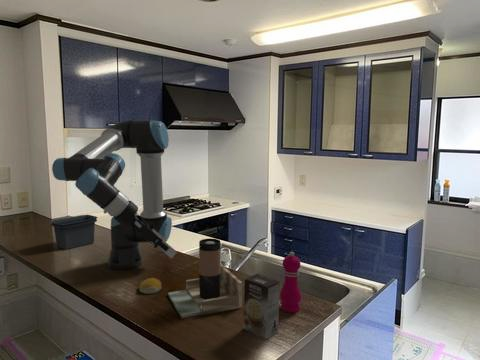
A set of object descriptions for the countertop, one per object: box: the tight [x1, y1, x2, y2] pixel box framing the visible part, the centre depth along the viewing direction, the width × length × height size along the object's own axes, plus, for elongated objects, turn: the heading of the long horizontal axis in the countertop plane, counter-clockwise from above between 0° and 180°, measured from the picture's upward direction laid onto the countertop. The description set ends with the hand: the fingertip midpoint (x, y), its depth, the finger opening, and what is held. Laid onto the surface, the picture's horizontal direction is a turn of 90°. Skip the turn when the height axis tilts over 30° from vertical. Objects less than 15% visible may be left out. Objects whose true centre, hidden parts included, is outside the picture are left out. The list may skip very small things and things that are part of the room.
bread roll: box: [138, 277, 162, 295], centre depth 141 cm, size 8×9×4 cm
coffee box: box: [243, 273, 281, 340], centre depth 111 cm, size 9×6×16 cm
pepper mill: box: [279, 251, 302, 314], centre depth 126 cm, size 7×7×20 cm
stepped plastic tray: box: [167, 263, 243, 319], centre depth 131 cm, size 20×21×9 cm
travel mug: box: [198, 238, 222, 300], centre depth 132 cm, size 8×8×20 cm
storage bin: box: [50, 214, 98, 250], centre depth 197 cm, size 21×16×14 cm
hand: (168, 248), depth 125 cm, fingers open, 13 cm apart
